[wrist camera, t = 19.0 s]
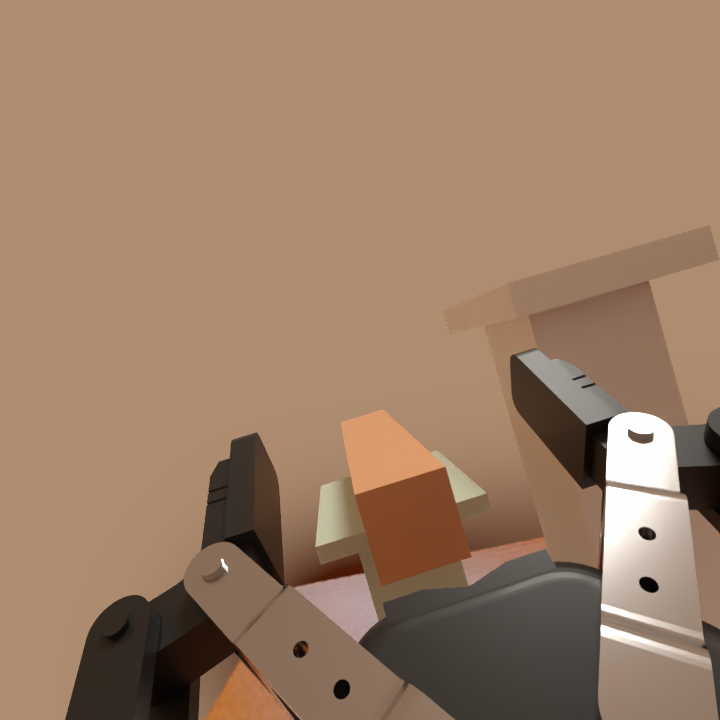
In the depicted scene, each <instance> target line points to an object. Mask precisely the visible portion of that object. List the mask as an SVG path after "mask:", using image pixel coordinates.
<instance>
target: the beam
mask: <svg viewBox="0 0 720 720" xmlns="http://www.w3.org/2000/svg"><path fill="white" fill-rule="evenodd" d="M341 426H342V432H343V437H344V442H345V447H346V453H347V458H348V463H349V468H350V473H351V479H352V484H353V489H354V494H355V498H356V501H357V505H358V508H359V512H360V515H361V519H362V522H363V525H364V529H365V532H366V536H367V539H368V543H369V546H370V549H371V553H372V556H373V560H374V563H375V567H376V570H377V574H378V577H379V580H380V584H381V586H384V585H387V584H390V583H393V582H397V581H400V580H403V579H406V578H409V577H412V576H415V575H418V574H421V573H424V572H427V571H430V570H433V569H436V568H439V567H442V566H445V565H448V564H452V563H455V562H458V561H461V560H464V559H467V558H470V557H471V553H470V550H469V546H468V543H467V539H466V536H465V533H464V529H463V525H462V522H461V518H460V515H459V511H458V508H457V505H456V501H455V498H454V494H453V491H452V487H451V484H450V480H449V477H448V473H447V470H446V466H444V465H443V464H442V463H441V462H440V461H439V460H438V459H437V458H436V457H435V456H433V455H432V454H431V453H430V452H429V451H428V450H427V449H426V448H425V447H423V446H422V445H421V444H420V443H419V442H418V441H417V440H416V439H415V438H414V437H412V436H411V435H410V434H409V433H408V432H407V431H406V430H405V429H404V428H402V427H401V426H400V425H399V424H398V423H397V422H396V421H395V420H394V419H393V418H391V417H390V416H389V415H388V414H387V413H386V412H385V411H384V410H380V411H376V412H373V413H370V414H366V415H363V416H360V417H356V418H353V419H350V420H346V421H343V422H341Z"/></svg>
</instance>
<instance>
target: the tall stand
mask: <svg viewBox="0 0 720 720" xmlns="http://www.w3.org/2000/svg"><path fill="white" fill-rule="evenodd" d="M717 260H719V258H718V254H717V251H716V247H715V243H714V240H713V236H712V232H711V229H710V226H706V227H702V228H698V229H695V230H691V231H688V232H684V233H681V234H677V235H674V236H670V237H667V238H663V239H660V240H656V241H653V242H650V243H646V244H643V245H639V246H635V247H632V248H628V249H625V250H622V251H618V252H614V253H611V254H607V255H604V256H600V257H597V258H593V259H590V260H587V261H583V262H579V263H576V264H572V265H569V266H565V267H562V268H558V269H555V270H552V271H548V272H544V273H541V274H537V275H534V276H530V277H527V278H523V279H520V280H516V281H513V282H509V283H506V284H504V285H502V286H500V287H497V288H495V289H493V290H490V291H488V292H486V293H484V294H481V295H479V296H477V297H474V298H472V299H470V300H467V301H465V302H463V303H461V304H458V305H456V306H454V307H452V308H449V309H447V310H445V311H444V314H445V318H446V321H447V325H448V328H449V332H450V333H454V332H459V331H463V330H468V329H472V328H477V327H482V326H484V327H485V330H486V334H487V337H488V341H489V344H490V348H491V351H492V355H493V358H494V362H495V365H496V369H497V372H498V376H499V380H500V383H501V387H502V390H503V394H504V397H505V400H506V404H507V407H508V411H509V415H510V418H511V422H512V425H513V429H514V432H515V436H516V439H517V443H518V446H519V450H520V453H521V457H522V460H523V464H524V468H525V471H526V474H527V478H528V482H529V485H530V489H531V492H532V496H533V499H534V503H535V506H536V510H537V513H538V517H539V520H540V524H541V527H542V531H543V535H544V538H545V542H546V545H547V549H548V552H549V556H550V557H551V559H552V561H553V562H556V561H561V562H573V563H579V564H584V565H587V566H591V567H594V568H598V555H599V538H600V520H601V502H602V490H601V489H600V488H599V487H598V485H594V486H591V487H588V488H585V489H582V488H581V487H580V486H579V485H578V484H577V482H576V481H575V480H574V479H573V478H572V476H571V475H570V474H569V473H568V472H567V470H566V469H565V468H564V467H563V466H562V465H561V463H560V462H559V461H558V460H557V459H556V457H555V456H554V455H553V454H552V453H551V451H550V450H549V449H548V448H547V447H546V445H545V444H544V443H543V442H542V441H541V439H540V438H539V437H538V436H537V435H536V433H535V432H534V431H533V430H532V429H531V427H530V426H529V425H528V424H527V423H526V421H525V420H524V419H523V418H522V417H521V415H520V414H519V413H518V411H517V409H516V407H515V405H514V403H513V399H512V392H511V374H510V357H511V355H513V354H517V353H520V352H523V351H527V350H530V349H533V348H537V349H539V350H540V351H541V352H542V353H543V354H544V355H545V356H547V357H548V358H549V359H550V360H553V359H556V358H558V359H561V360H563V361H566V362H568V363H571V364H573V365H575V366H576V367H577V368H578V369H579V370H581V371H582V372H583V373H584V374H585V375H586V377H589V378H590V379H591V380H593V381H594V382H595V384H596V385H599V386H600V387H601V388H602V389H603V390H605V391H606V392H607V393H608V394H609V395H611V396H612V397H613V398H614V399H615V400H616V401H618V402H619V403H620V404H621V405H622V406H624V407H625V408H626V409H627V410H628V411H630V412H631V413H632V412H636V413H645V414H649V415H653V416H655V417H658V418H660V419H662V420H663V421H665V422H666V423H667V424H668V425H669V426H686V425H688V421H687V418H686V414H685V411H684V407H683V403H682V399H681V396H680V393H679V389H678V385H677V382H676V378H675V374H674V371H673V367H672V363H671V360H670V356H669V352H668V349H667V345H666V342H665V338H664V334H663V331H662V327H661V323H660V320H659V317H658V313H657V309H656V305H655V302H654V298H653V294H652V291H651V287H650V284H649V280H652V279H655V278H658V277H662V276H665V275H669V274H672V273H676V272H679V271H683V270H686V269H689V268H693V267H696V266H700V265H703V264H707V263H710V262H713V261H717ZM689 516H690V525H691V533H692V542H693V551H694V559H695V568H696V576H697V585H698V593H699V602H700V611H701V619H702V620H703V621H705V622H707V623H709V624H711V625H713V626H715V627H717V628H719V629H720V537H719V533H718V531H717V530H716V529H715V528H714V527H713V526H712V525H711V524H710V523H709V522H708V521H707V519H706V518H705V517H704V516H703V515H702V514H701V513H700V512H699V511H698V510H689Z"/></svg>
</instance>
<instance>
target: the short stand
mask: <svg viewBox="0 0 720 720" xmlns="http://www.w3.org/2000/svg"><path fill="white" fill-rule="evenodd" d="M430 453H431V454H432V455H433V456H435V457H436V458H437V459H438V460H439V461H440V462H441V463H442V464H443V465H444V466H446V470H447V473H448V477H449V480H450V484H451V487H452V491H453V494H454V498H455V501H456V505H457V508H458V511H459V515H460V518H461V520H462V519H466V518H469V517H472V516H475V515H478V514H481V513H485V512H487V511H491V507H490V503H489V500H488V496H487V493H486V492H485V491H483V490H482V489H481V488H480V487H479V486H478V485H476V484H475V483H474V482H473V481H472V480H471V479H470V478H468V477H467V476H466V475H465V474H464V473H463V472H462V471H460V470H459V469H458V468H457V467H456V466H455V465H453V464H452V463H451V462H450V461H449V460H448V459H447V458H445V457H444V456H443V455H442V454H441V453H440V452H439V451H437V450H436V451H434V452H430ZM317 526H318V527H317V536H316V550H317V554H318V557H319V561H320V564H323V563H327V562H330V561H333V560H336V559H339V558H343V557H346V556H348V555H352V554H355V553H358V552H359V555H360V558H361V562H362V565H363V568H364V572H365V575H366V579H367V582H368V586H369V589H370V593H371V596H372V599H373V603H374V606H375V610H376V613H377V617H378V620H379V621H380V620H381V619H383V618H384V617H386V615H385V611H384V607H383V603H384V602H387V601H390V600H393V599H396V598H399V597H402V596H405V595H408V594H411V593H414V592H417V591H420V590H424V589H439V588H455V587H467V586H468V583H467V580H466V576H465V573H464V569H463V566H462V562H461V561H458V562H455V563H452V564H448V565H445V566H442V567H439V568H436V569H433V570H430V571H427V572H424V573H421V574H418V575H415V576H412V577H409V578H406V579H403V580H400V581H397V582H393V583H390V584H387V585H384V586H381V584H380V580H379V577H378V574H377V570H376V567H375V563H374V560H373V556H372V553H371V549H370V546H369V543H368V539H367V536H366V532H365V529H364V525H363V522H362V519H361V515H360V512H359V508H358V505H357V501H356V498H355V494H354V489H353V484H352V479H351V477H349V478H345V479H342V480H339V481H335V482H332V483H329V484H326V485H322V486H321V492H320V503H319V514H318V525H317Z"/></svg>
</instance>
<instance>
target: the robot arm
mask: <svg viewBox="0 0 720 720" xmlns="http://www.w3.org/2000/svg"><path fill="white" fill-rule="evenodd" d="M510 374H511V392H512V399H513V403H514V405H515V407H516V409H517V411H518V413H519V414H520V415H521V417H522V418H523V419H524V420H525V421H526V423H527V424H528V425H529V426H530V427H531V429H532V430H533V431H534V432H535V433H536V435H537V436H538V437H539V438H540V439H541V441H542V442H543V443H544V444H545V445H546V447H547V448H548V449H549V450H550V451H551V453H552V454H553V455H554V456H555V457H556V459H557V460H558V461H559V462H560V463H561V465H562V466H563V467H564V468H565V469H566V470H567V472H568V473H569V474H570V475H571V476H572V478H573V479H574V480H575V481H576V482H577V484H578V485H579V486H580V487H581V488H582V489H585V488H588V487H591V486H594V485H598V487H599V488H600V489H601V490H602V502H601V520H600V538H599V555H598V568H594V567H591V566H587V565H584V564H579V563H573V562H561V561H556V562H553V561H552V559H551V557H550V556H549V554H548V553H547V551H546V550H545V549H544V550H541V551H538V552H535V553H532V554H529V555H526V556H523V557H520V558H517V559H514V560H511V561H508V562H505V563H504V564H502V565H501V566H499V567H498V568H496V569H495V570H493V571H492V572H490V573H489V574H487V575H486V576H484V577H483V578H481V579H480V580H478V581H477V582H475V583H474V584H472V585H470V586H467V587H455V588H439V589H424V590H420V591H417V592H414V593H411V594H408V595H405V596H402V597H399V598H396V599H393V600H390V601H387V602H384V603H383V607H384V611H385V615H386V617H384V618H383V619H381V620H380V621H378V622H377V623H376V624H375V625H374V626H373V627H372V628H370V629H369V631H368V632H367V633H366V634H365V635H364V636H363V637H362V639H361V640H360V641H359V643H358V642H356V641H355V640H354V639H353V638H352V637H351V636H349V635H348V634H347V633H346V632H345V631H344V630H342V629H341V628H340V627H339V626H338V625H336V624H335V623H334V622H333V621H332V620H331V619H329V618H328V617H327V616H326V615H325V614H324V613H322V612H321V611H320V610H319V609H318V608H317V607H315V606H314V605H313V604H312V603H311V602H310V601H308V600H307V599H306V598H305V597H304V596H302V595H301V594H300V593H299V592H298V591H297V590H295V589H294V588H293V587H291V586H290V585H286V586H285V587H283V585H284V567H283V549H282V531H281V514H280V496H279V484H278V479H277V475H276V472H275V470H274V467H273V465H272V462H271V460H270V458H269V456H268V454H267V452H266V449H265V447H264V445H263V443H262V441H261V439H260V437H259V435H258V434H257V433H253V434H250V435H247V436H243V437H241V438H237V439H234V440H232V442H231V451H230V459H226V460H223V461H220V462H219V463H218V464H217V466H216V468H215V469H214V471H213V473H212V475H211V476H210V485H209V494H208V500H207V503H208V506H207V508H206V516H205V524H204V533H203V541H202V548H201V552H200V553H198V554H197V555H196V556H195V557H194V558H193V560H192V561H191V562H190V564H189V565H188V567H187V569H186V571H185V575H184V579H183V580H182V581H181V582H179V583H178V584H177V585H175V586H174V587H172V588H170V589H169V590H167V591H166V592H164V593H163V594H161V595H159V596H158V597H156V598H154V599H153V600H151V601H150V602H148V601H147V600H146V599H145V598H144V597H142V596H139V595H131V596H127V597H124V598H122V599H119V600H118V601H116V602H114V603H113V604H112V605H110V606H109V607H108V608H106V609H105V610H104V611H103V612H102V613H101V614H100V615H99V617H98V618H97V619H96V621H95V622H94V624H93V625H92V627H91V629H90V631H89V633H88V636H87V639H86V643H85V646H84V650H83V654H82V658H81V662H80V666H79V669H78V673H77V677H76V681H75V685H74V688H73V692H72V697H71V700H70V704H69V707H68V712H67V715H66V719H65V720H198V713H199V691H200V676H202V675H203V674H204V673H206V672H207V671H209V670H210V669H211V668H213V667H214V666H216V665H217V664H218V663H220V662H221V661H223V660H224V659H225V658H227V657H228V656H230V655H231V654H233V653H235V654H236V655H237V656H238V658H239V659H240V660H241V661H242V662H243V663H244V665H245V666H246V667H247V668H248V669H249V670H250V671H251V673H252V674H253V675H254V676H255V677H256V678H257V680H258V681H259V682H260V683H261V684H262V685H263V686H264V688H265V689H266V690H267V691H268V692H269V693H270V695H271V696H272V697H273V698H274V699H275V700H276V702H277V703H278V704H279V705H280V706H281V708H282V709H283V710H284V711H285V712H286V714H287V715H288V716H289V717H290V719H291V720H720V629H719V628H717V627H715V626H713V625H711V624H709V623H707V622H705V621H703V620H702V619H701V611H700V602H699V593H698V585H697V576H696V568H695V559H694V551H693V542H692V533H691V525H690V516H689V510H698V511H699V512H700V513H701V514H702V515H703V516H704V517H705V518H706V519H707V521H708V522H709V523H710V524H711V525H712V526H713V527H714V528H715V529H716V530H717V531H718V532H719V533H720V408H717V409H715V410H713V411H712V412H711V413H710V414H709V416H708V419H707V423H706V424H704V425H686V426H669V425H668V424H667V423H666V422H665V421H663V420H662V419H660V418H658V417H655V416H653V415H649V414H645V413H636V412H632V413H631V412H630V411H628V410H627V409H626V408H625V407H624V406H622V405H621V404H620V403H619V402H618V401H616V400H615V399H614V398H613V397H612V396H611V395H609V394H608V393H607V392H606V391H605V390H603V389H602V388H601V387H600V386H599V385H596V384H595V382H594V381H593V380H591V379H590V378H589V377H586V375H585V374H584V373H583V372H582V371H581V370H579V369H578V368H577V367H576V366H575V365H573V364H571V363H568V362H566V361H563V360H561V359H558V358H556V359H553V360H550V359H549V358H548V357H547V356H545V355H544V354H543V353H542V352H541V351H540V350H539V349H537V348H533V349H530V350H527V351H523V352H520V353H517V354H513V355H511V357H510Z"/></svg>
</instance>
